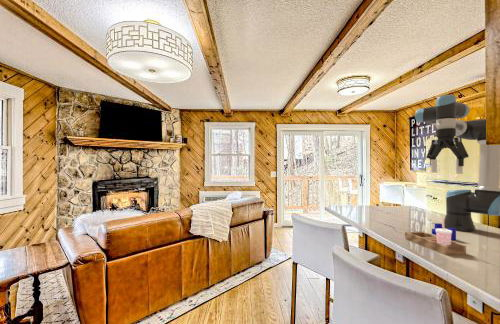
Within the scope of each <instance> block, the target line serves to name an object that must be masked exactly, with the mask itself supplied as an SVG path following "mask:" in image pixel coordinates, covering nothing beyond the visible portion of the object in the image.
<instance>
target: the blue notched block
mask: <svg viewBox="0 0 500 324" xmlns="http://www.w3.org/2000/svg"><path fill="white" fill-rule="evenodd" d="M437 228H441V229H443V223H439V222H438V223H437V222H436V223H434V228H431V234H432V235H435V236H436V230H435V229H437ZM447 229H448V230H451V231H452V233H451V241H456V240H457V230H456V229H455V228H447Z"/></svg>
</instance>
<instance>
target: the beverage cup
mask: <svg viewBox="0 0 500 324" xmlns="http://www.w3.org/2000/svg"><path fill="white" fill-rule="evenodd" d="M444 219H445V218H443V219H442V228H443V229H441V228H437V229H435V228H434V229H435V230H436V235H435V236H437V243H439V244H442V245H451V241H452V240H451V233H452V231H451V230H448V228H445V227H444Z"/></svg>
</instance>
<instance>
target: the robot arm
mask: <svg viewBox="0 0 500 324" xmlns="http://www.w3.org/2000/svg"><path fill="white" fill-rule="evenodd" d="M456 99H457V98H456V95H454V94H445V95H440V96H437V98H436V99H435V105H434V106H429V107H423V108H418V109H416V111H415V113H414V119H415V120H416V122H417V123H429V124H431V125H433V126H435V128H436V130H435V135H436V138H437V139H431V144H430V147H429V150H428V152H427V154H426V158H427V159H428V160H429V163H430V173H438V159H437V157H438V156H439V154H440V153H441V151H442V150H444V149H449V150H450V151H451V152H452V153H453V154H454V156H455V157H456V159H455V174H456V175H457V174H459V175H461V174H463V168H464V165H465V164H464V163H465V159H466V158H469V154H468V151H467V150H466V147H465V146H464V144H463V142H462V140H466V141H467V140H468V141H476V143H477V144H479V145H480V147H479V149H480V150H479V165H478V166H479V167H478V168H479V169H478V186H477V187H476V188H475V189H474V191H473V192H472V190H471V189H453V190H452V189H451V190H447V191H446V196H445V203H446V204H445V205H446V206H445V209H446V210H445V211H446V214H445V216H444V218H443V219H444V229H448V228H455V229H456V231H460V232H475V231H476V225H475V224H474V221H473V218H472V214H473V213H474V214H481V215H485V216H486V215H488V216H494V217H495V216H497V217H498V216H499V217H500V145H486V119H487V118H482V119H472V120H463V118H465V117H467V116H468V115H469V112H470V108H469V105H468V104H465V103H463V102H459V101H457V100H456ZM461 119H462V120H461Z"/></svg>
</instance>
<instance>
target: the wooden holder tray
mask: <svg viewBox="0 0 500 324" xmlns="http://www.w3.org/2000/svg"><path fill="white" fill-rule="evenodd" d="M404 239H405V240H406V241H409V242H412V243H414V244H417V245H419V246H422V247H425V248H427V249H429V250H432V251H434V252H437V253H440V254H442V255H444V256H449V255H450V256H452V255H466V254H467V245H465V244H462V243H459V242H456V241H454V240H451V245H442V244H439V243H437V236H436V235H434V234H432V233H428V232H426V231H405V232H404Z"/></svg>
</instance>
